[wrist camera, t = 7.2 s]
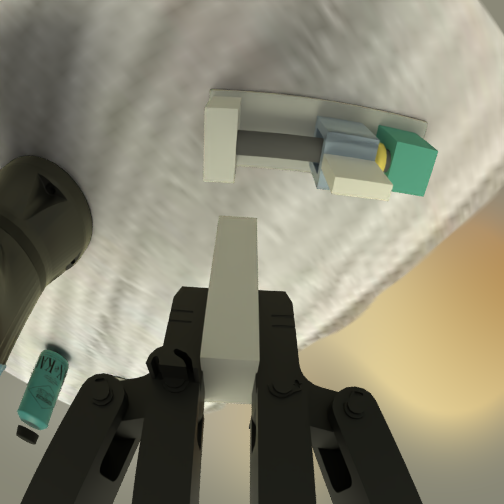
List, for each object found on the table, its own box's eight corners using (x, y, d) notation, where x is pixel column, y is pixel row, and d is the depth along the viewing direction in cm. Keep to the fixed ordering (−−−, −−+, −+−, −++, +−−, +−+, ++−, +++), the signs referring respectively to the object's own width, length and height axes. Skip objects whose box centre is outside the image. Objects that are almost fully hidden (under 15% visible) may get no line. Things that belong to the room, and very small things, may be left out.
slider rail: (208, 161, 29) (199, 188, 25) (210, 89, 25) (200, 101, 21) (407, 184, 30) (428, 211, 26) (424, 121, 25) (452, 140, 21)
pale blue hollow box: (309, 165, 27) (326, 216, 21) (317, 115, 25) (340, 151, 18) (351, 170, 28) (381, 222, 21) (362, 123, 25) (400, 161, 18)
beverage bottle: (69, 365, 55) (41, 450, 39) (41, 350, 52) (9, 434, 37) (75, 354, 52) (44, 447, 36) (45, 337, 49) (9, 429, 34)
